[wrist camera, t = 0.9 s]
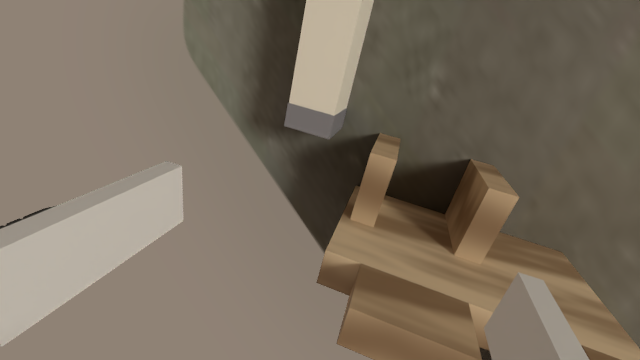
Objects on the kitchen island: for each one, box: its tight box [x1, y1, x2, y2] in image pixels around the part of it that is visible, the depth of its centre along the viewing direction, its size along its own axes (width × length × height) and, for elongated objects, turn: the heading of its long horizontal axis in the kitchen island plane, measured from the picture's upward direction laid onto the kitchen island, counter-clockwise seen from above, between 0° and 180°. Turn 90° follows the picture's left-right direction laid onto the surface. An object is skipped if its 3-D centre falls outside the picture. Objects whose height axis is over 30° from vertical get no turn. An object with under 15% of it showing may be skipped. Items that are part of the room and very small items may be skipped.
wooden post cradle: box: [317, 133, 640, 360], centre depth 21 cm, size 9×20×16 cm, turn 77°
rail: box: [284, 0, 374, 139], centre depth 24 cm, size 16×4×5 cm, turn 167°
